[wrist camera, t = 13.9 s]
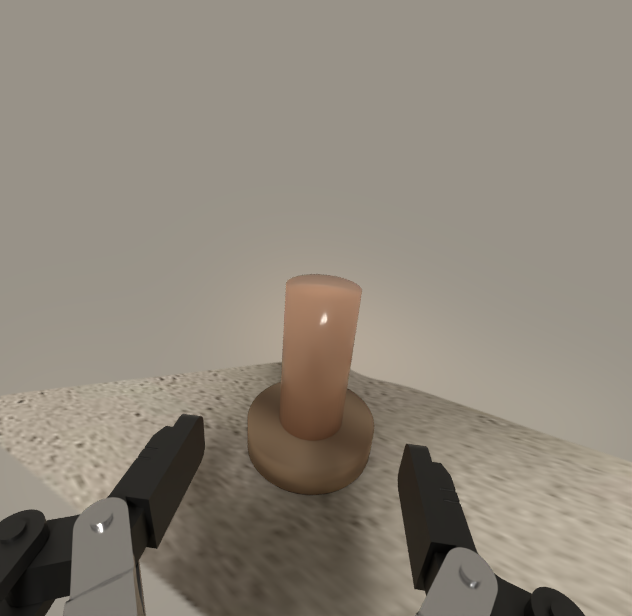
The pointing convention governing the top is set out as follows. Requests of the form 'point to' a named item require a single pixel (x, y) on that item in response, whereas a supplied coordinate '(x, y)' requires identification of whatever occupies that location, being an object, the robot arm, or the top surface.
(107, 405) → the top surface
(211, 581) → the top surface
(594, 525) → the top surface
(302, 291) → the tan rounded post
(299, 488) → the brown disc
